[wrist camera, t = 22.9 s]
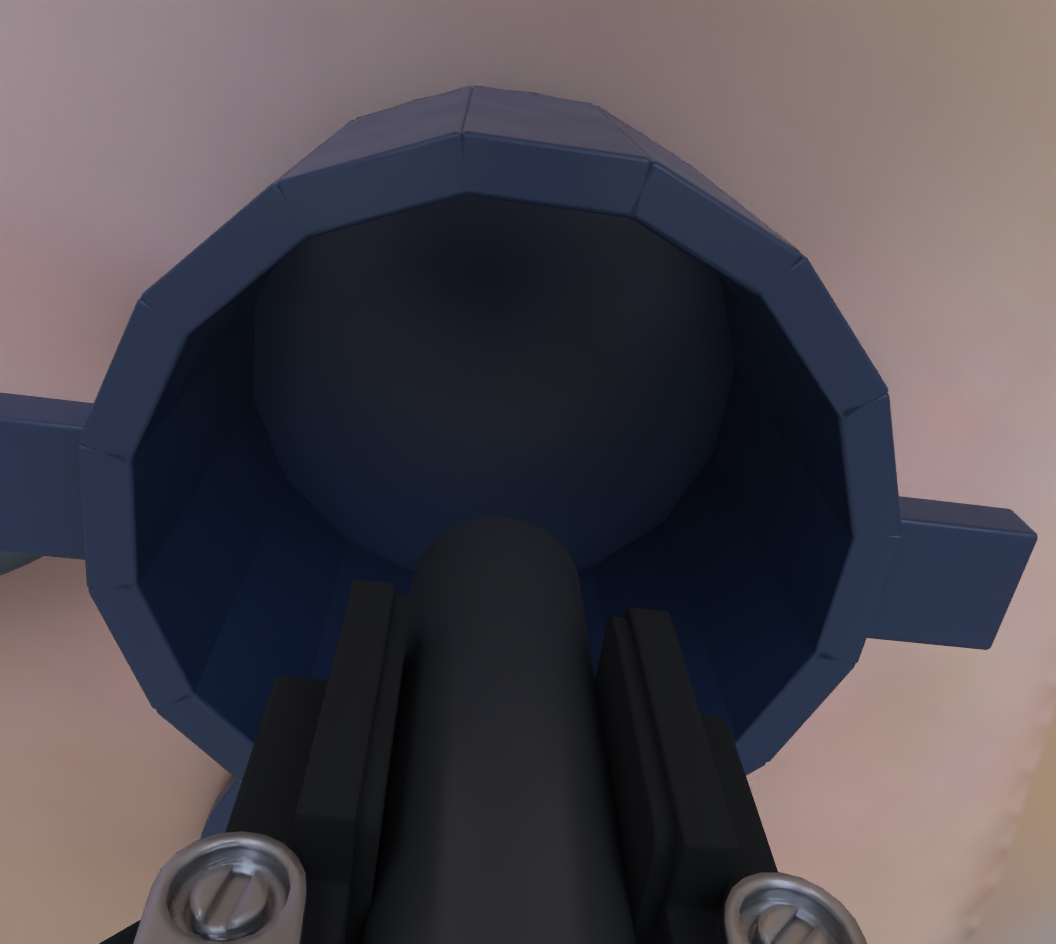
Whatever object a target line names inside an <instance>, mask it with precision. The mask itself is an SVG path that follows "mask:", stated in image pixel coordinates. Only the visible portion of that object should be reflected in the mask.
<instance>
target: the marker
mask: <svg viewBox="0 0 1056 944" xmlns="http://www.w3.org/2000/svg"><path fill="white" fill-rule="evenodd" d="M409 597H411V599H410V609H409V618H408V628H407V637H406V647H405V656H404V665H403V672H402V679H401V687H400V694H399V702H398V709H397V716H396V724H395V731H394V738H393V746H392V753H391V760H390V768H389V775H388V782H387V790H386V797H385V804H384V812H383V819H382V826H381V834H380V841H379V848H378V856H377V863H376V871H375V878H374V885H373V893H372V900H371V907H370V911H369V913H368V915H367V917H366V920H365V922H364V925H363V928H362V933H361V939H360V944H636V938H635V932H634V927H633V920H632V914H631V907H630V901H629V894H628V888H627V882H626V875H625V869H624V862H623V856H622V850H621V843H620V837H619V830H618V824H617V817H616V811H615V805H614V798H613V792H612V785H611V779H610V773H609V766H608V760H607V753H606V747H605V741H604V734H603V728H602V721H601V715H600V708H599V702H598V696H597V689H596V683H595V676H594V669H593V663H592V656H591V650H590V644H589V637H588V631H587V624H586V618H585V612H584V605H583V599H582V592H581V586H580V580H579V575H578V571H577V568H576V565H575V563H574V561H573V559H572V557H571V555H570V554H569V552H568V551H567V550H566V548H565V547H564V546H563V545H562V544H561V543H560V542H559V541H558V540H557V539H556V538H555V537H553V536H552V535H551V534H549V533H548V532H546V531H545V530H543V529H541V528H540V527H538V526H535V525H533V524H531V523H528V522H525V521H521V520H518V519H512V518H504V517H489V518H480V519H475V520H471V521H468V522H464V523H461V524H459V525H457V526H455V527H452V528H451V529H449V530H447V531H446V532H444V533H443V534H441V535H440V536H439V537H437V538H436V539H435V540H434V541H433V542H432V543H431V544H430V545H429V546H428V547H427V548H426V549H425V551H424V552H423V554H422V555H421V556H420V558H419V560H418V562H417V564H416V567H415V570H414V572H413V576H412V582H411V588H410V595H409Z"/></svg>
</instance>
